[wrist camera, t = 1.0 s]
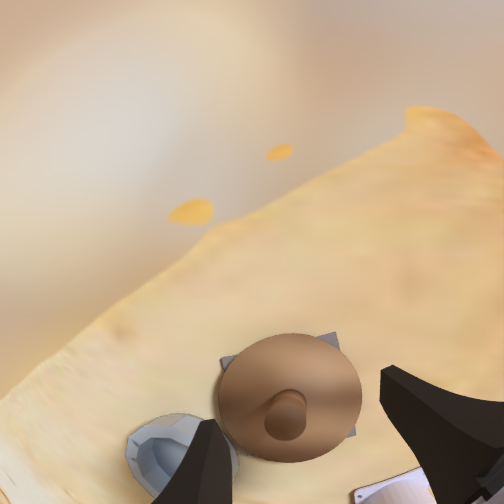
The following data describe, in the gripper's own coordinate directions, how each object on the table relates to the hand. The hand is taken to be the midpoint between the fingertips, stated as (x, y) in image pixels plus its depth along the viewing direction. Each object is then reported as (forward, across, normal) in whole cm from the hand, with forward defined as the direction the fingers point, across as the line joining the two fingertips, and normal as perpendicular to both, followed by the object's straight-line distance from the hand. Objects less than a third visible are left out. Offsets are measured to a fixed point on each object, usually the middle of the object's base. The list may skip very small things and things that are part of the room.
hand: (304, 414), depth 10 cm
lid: (+9, 0, +8) cm, 12 cm away
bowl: (+9, +11, +13) cm, 19 cm away
